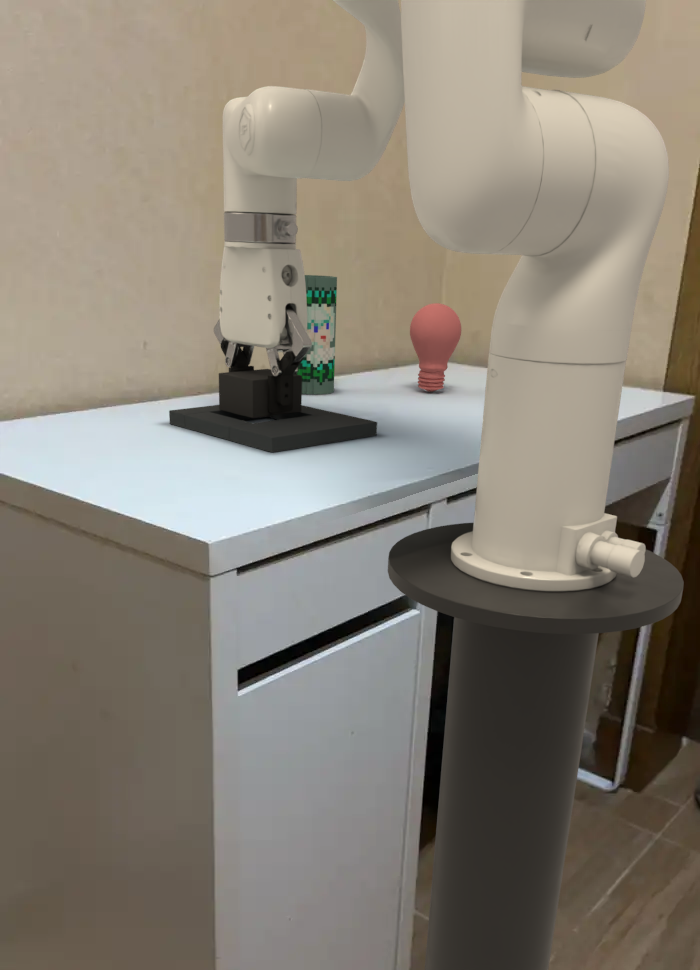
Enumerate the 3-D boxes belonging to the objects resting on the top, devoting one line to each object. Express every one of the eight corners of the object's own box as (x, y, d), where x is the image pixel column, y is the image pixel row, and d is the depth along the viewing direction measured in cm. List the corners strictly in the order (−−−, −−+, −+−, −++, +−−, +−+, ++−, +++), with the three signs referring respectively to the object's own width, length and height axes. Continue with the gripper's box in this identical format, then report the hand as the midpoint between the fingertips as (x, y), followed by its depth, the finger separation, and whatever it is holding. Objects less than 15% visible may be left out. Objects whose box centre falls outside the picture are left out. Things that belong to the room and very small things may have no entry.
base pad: (376, 435, 103) (377, 421, 103) (272, 452, 93) (272, 437, 93) (272, 410, 115) (272, 398, 114) (169, 423, 105) (168, 410, 104)
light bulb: (451, 398, 129) (458, 306, 124) (401, 393, 130) (406, 303, 126) (460, 390, 135) (467, 303, 130) (412, 386, 137) (417, 300, 132)
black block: (301, 411, 105) (302, 375, 103) (252, 418, 100) (252, 380, 99) (267, 403, 109) (267, 368, 107) (219, 409, 104) (218, 373, 103)
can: (300, 395, 126) (302, 277, 121) (282, 388, 131) (283, 274, 126) (340, 393, 129) (344, 277, 123) (321, 386, 134) (323, 275, 128)
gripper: (343, 236, 94) (337, 415, 101) (237, 231, 106) (239, 393, 113) (286, 234, 90) (285, 423, 97) (182, 230, 101) (187, 399, 108)
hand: (260, 405), depth 105 cm, fingers closed on black block, 6 cm apart
